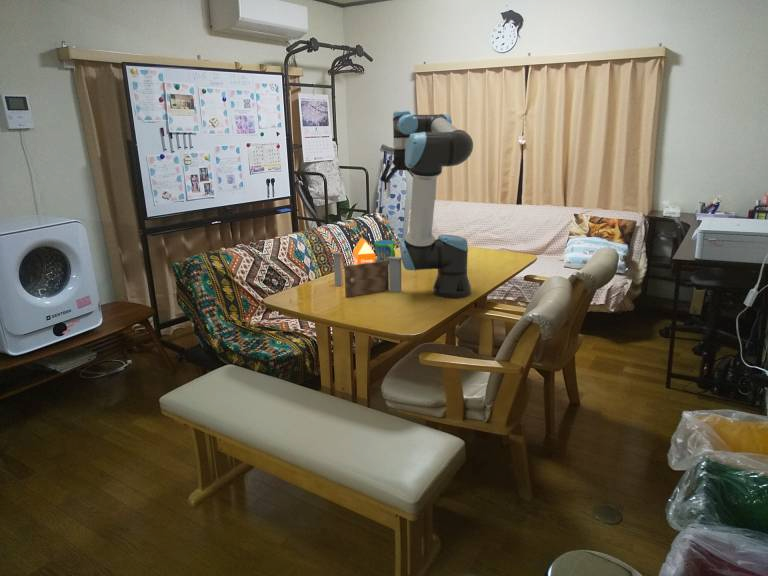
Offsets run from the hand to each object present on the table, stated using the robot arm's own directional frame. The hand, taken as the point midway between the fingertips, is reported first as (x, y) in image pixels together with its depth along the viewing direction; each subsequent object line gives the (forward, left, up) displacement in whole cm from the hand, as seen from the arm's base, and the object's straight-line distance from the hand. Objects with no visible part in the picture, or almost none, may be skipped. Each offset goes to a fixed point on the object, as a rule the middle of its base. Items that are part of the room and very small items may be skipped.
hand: (402, 197), depth 235 cm
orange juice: (+8, +23, -35) cm, 43 cm away
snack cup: (+17, -18, -35) cm, 43 cm away
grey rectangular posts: (+6, +28, -35) cm, 45 cm away
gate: (+1, +35, -34) cm, 49 cm away
